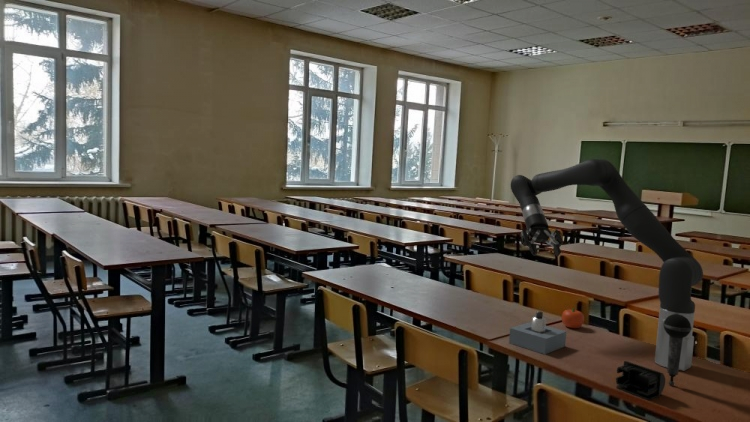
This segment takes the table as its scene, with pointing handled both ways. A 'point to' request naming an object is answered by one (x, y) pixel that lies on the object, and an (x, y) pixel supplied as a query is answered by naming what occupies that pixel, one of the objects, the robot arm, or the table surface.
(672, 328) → the microphone
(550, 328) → the grey block with hole
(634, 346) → the table surface
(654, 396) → the end cap
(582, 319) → the pumpkin
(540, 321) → the silver bottle
